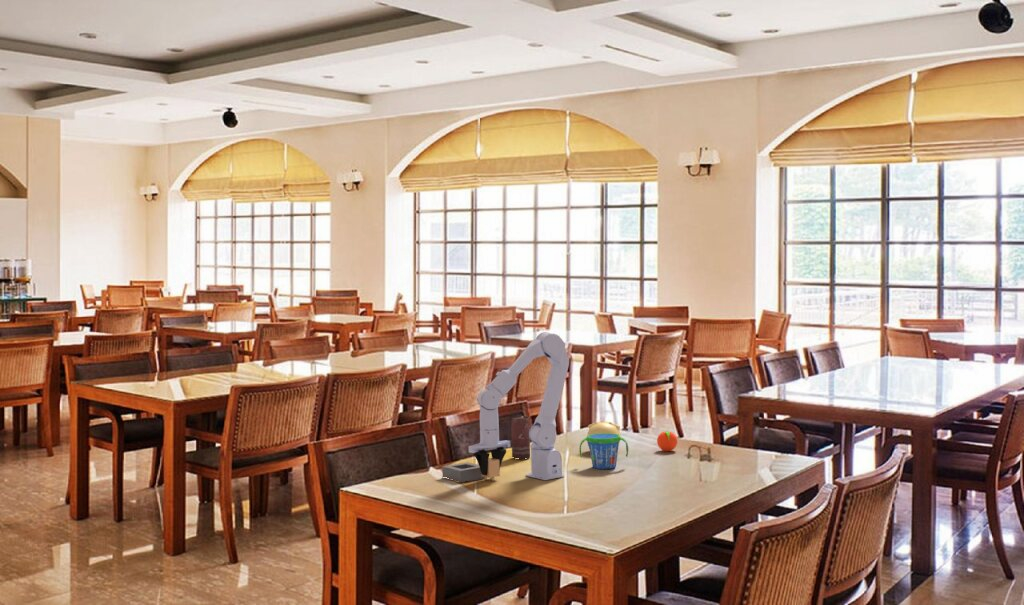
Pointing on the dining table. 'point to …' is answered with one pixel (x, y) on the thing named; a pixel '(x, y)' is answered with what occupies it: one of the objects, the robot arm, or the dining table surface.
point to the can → (520, 437)
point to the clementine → (667, 441)
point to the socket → (462, 472)
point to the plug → (492, 469)
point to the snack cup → (603, 449)
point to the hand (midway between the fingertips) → (490, 473)
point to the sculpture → (603, 428)
